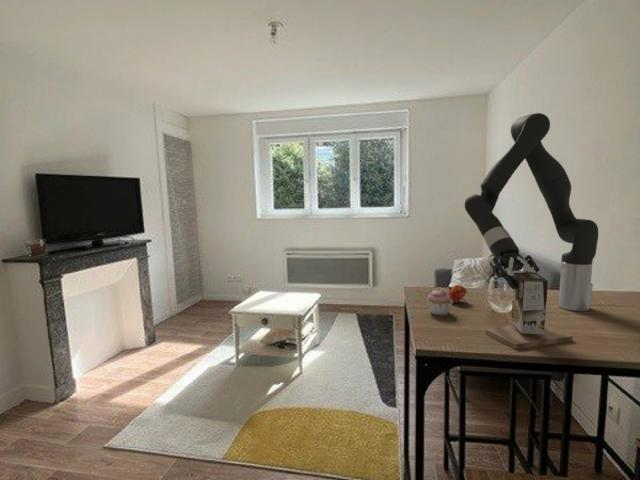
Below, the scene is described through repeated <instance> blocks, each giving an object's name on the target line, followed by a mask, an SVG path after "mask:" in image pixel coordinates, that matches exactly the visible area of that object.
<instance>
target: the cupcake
mask: <svg viewBox="0 0 640 480" xmlns="http://www.w3.org/2000/svg"><path fill="white" fill-rule="evenodd" d="M426 302H427V304H428V306H429V312H430V313H431V314H432V315H434V316H440V317H441V316H442V317H444V316H447V315H449V313H450V310H451V307H452V305H453V304H454V303H453V301H452V300H450V296H449V294H448V292H447V291H446V289H445V288H443V287H441V286H438V287H437V289H434V290H432V291H431V293H429V294H428V297H427V298H426Z"/></svg>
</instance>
